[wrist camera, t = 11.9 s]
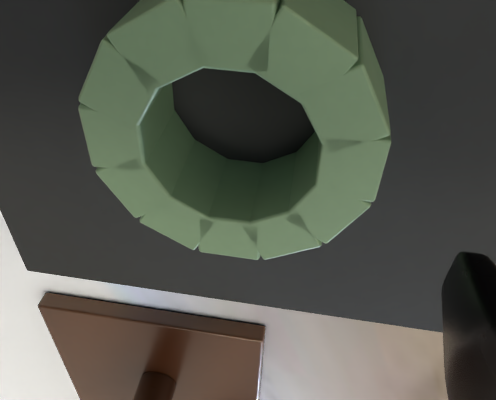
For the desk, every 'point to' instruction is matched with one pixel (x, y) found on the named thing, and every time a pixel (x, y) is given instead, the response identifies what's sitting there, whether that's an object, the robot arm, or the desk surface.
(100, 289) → the desk surface
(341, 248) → the mat
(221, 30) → the ring
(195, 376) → the peg stand
